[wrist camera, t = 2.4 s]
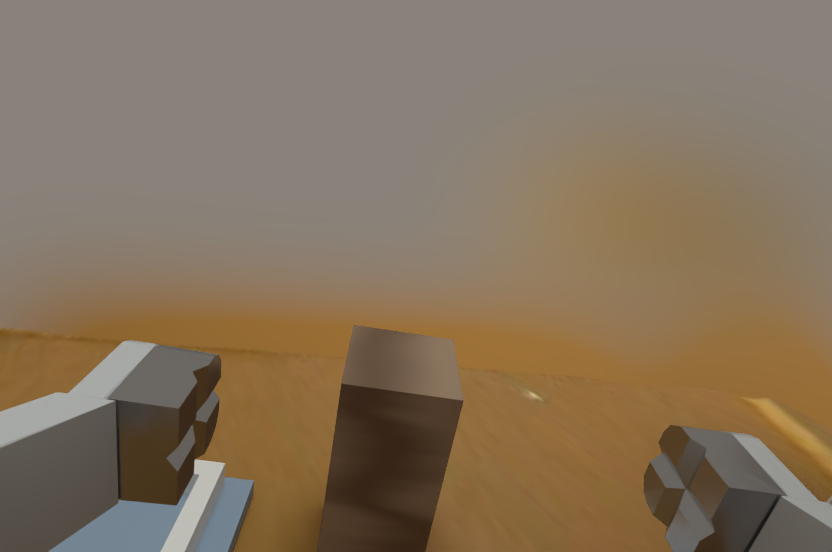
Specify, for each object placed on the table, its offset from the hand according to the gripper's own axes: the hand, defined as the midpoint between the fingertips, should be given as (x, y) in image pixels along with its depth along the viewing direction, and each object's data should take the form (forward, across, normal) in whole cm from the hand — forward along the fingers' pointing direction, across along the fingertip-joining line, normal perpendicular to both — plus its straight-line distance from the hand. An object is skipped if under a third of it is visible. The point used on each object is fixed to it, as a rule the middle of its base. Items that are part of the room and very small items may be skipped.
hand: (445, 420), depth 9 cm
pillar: (+12, 0, +18) cm, 22 cm away
